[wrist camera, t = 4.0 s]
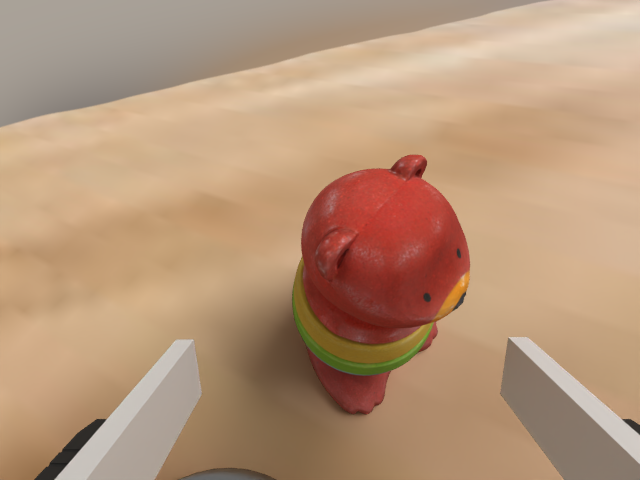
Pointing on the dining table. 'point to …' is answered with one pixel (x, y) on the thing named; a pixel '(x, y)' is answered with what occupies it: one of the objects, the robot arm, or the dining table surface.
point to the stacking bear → (376, 277)
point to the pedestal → (228, 475)
